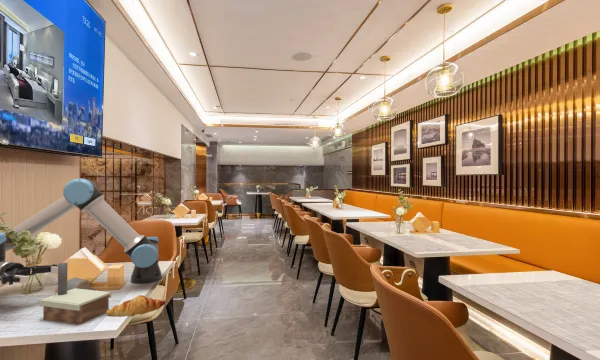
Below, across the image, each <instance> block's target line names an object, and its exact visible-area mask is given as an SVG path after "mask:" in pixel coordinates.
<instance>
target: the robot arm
mask: <svg viewBox="0 0 600 360" xmlns="http://www.w3.org/2000/svg"><path fill="white" fill-rule="evenodd" d="M62 193H63V194H62V195H63V196H62V197H60V198H59V199H57V200H55V201H54V202H52V203H51V204H50V205H48V206H46V207H44V208H42V209H41V210H40V211H39V212H37V213H35V214H33V215H32V216H30V217H29V218H26V220H24V221H22V222H20V223H19V224H18V225H16V226H15V227H13V228H11V229H12V230H13V231H15V232H17V233H18V232H21V231H22V230H28V231H30V233H31V235H32V236H34V235H36V234H37V233H38V232H40V231H42V230H43V229H45V228H46V227H47V226H49V225H51V224H53V223H54V222H55V221H58V220H59V219H60V218H62V217H63V216H65V215H66V214H68V213H70V212H71V211H72V210H74V209H75V208H76V209H79V211H80V212H85V213H88V214H89V215H90V216H91V217H92V218H93V219H94V220H95V221H97V223H98V224H100V226H101V227H102V228H104V229H105V230H106V231H107V232H108V233H109V234H110V235H111V236H112V238H114V239H115V240H116V241H117V242H118V243H119V244H121V246H123V248H124V250H123V252H124V253H125V254H126V255H127V257H129V259H130V260H131V262H132V264H133V265H134V267H133V270H132V272H131V276H130V283H134V284H149V283H153V282H156V281H159V280H161V279H162V278H163V277H162V276H163V275H162V271H161V268H160V266H159V242H160V241H159V237H158V236H146V235H144V234H139V233H138V232H137V231H136V230H135V229H134V228H133V227H132V226H131V225H130V224H129V223H128V222H127V221H126V220H125V219H124V218H123V217H122V216H121V215H120V214H118V212H117V211H116V210H115V209H114V208H113V207H112V206H111V205H109V203H108V202H107V201H106V200H105V195H104V193H103V192H101V191H100V188H99V186H98V184H97V183H96V182H95V181H93V180H91V179H87V178H74V179H72V180H70V181H68V182H67V183H66V184H65V185H64V188H63V191H62ZM7 233H8V231H6V232H0V282H1V284H2V285H6V284H7V283H8V286H11V285H14V284H21V285H22V284H24V285H27V284H29V276H34V275H37V274H46V273H50V274H57V275H58V264H53V263H52V264H49V265H48V264H44V265H35V264H34V265H32V266H25V265H24V264H23V263H21V262H13V261H6V254H7V253H6V252H8V251H9V250H13V249H15V248H16V247H15V246H16V244H12V245H7V244H11V243H12V241H11V239H10V238H6V234H7ZM14 247H15V248H14Z"/></svg>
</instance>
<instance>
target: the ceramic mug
mask: <svg viewBox="0 0 600 360" xmlns="http://www.w3.org/2000/svg"><path fill="white" fill-rule="evenodd" d="M74 288H77V289H86V290H94V289H95V288H94V287H92V285H91V282H90V281H89V280H87V279H84V278H83V279H82V278H79V277H72V278H70V279H67V291H68V290H71V289H74Z"/></svg>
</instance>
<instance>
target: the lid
mask: <svg viewBox="0 0 600 360" xmlns="http://www.w3.org/2000/svg"><path fill="white" fill-rule="evenodd" d="M57 265H58V274H57V293H56V294H54V295H49V296H48V297H44V298H41V299H40V300H39V301H40V302H39V306H41V307H44V306H47V307H54V308H61V309H69V310H76V311H79V310H80V306H82V305H84V304H87V303H89V302H92V301H95V300H97V299H100V298H102V297H105V296H107V295H109V299H110V298H112V292H110V291H101V290H86V289H77V288H74V289H71V290H68V291H67V281H68V265H69V264H68V262H61V263H58V264H57Z"/></svg>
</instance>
